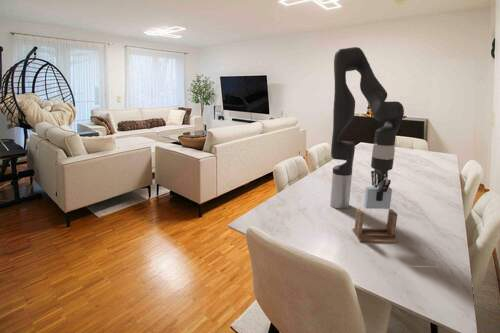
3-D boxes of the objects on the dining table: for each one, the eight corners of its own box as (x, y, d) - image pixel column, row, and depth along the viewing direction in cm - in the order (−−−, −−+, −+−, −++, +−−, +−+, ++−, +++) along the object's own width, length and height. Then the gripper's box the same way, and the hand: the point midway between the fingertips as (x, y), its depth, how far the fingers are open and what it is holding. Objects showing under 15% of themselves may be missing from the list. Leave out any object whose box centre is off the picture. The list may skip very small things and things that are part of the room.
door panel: (363, 206, 116) (365, 186, 114) (387, 206, 116) (389, 187, 114) (366, 208, 114) (368, 189, 112) (389, 208, 113) (392, 189, 111)
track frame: (352, 230, 123) (354, 206, 120) (386, 230, 122) (389, 206, 119) (359, 242, 113) (362, 216, 110) (396, 242, 113) (400, 217, 110)
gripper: (366, 152, 116) (362, 193, 121) (379, 160, 103) (374, 206, 107) (385, 152, 116) (380, 193, 120) (401, 160, 102) (395, 206, 107)
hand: (377, 199), depth 114 cm, fingers closed on door panel, 2 cm apart
